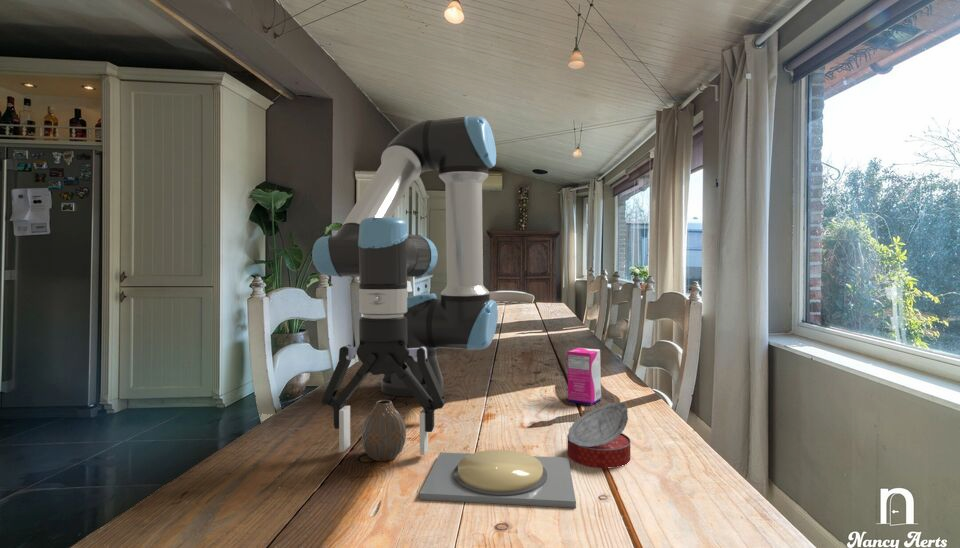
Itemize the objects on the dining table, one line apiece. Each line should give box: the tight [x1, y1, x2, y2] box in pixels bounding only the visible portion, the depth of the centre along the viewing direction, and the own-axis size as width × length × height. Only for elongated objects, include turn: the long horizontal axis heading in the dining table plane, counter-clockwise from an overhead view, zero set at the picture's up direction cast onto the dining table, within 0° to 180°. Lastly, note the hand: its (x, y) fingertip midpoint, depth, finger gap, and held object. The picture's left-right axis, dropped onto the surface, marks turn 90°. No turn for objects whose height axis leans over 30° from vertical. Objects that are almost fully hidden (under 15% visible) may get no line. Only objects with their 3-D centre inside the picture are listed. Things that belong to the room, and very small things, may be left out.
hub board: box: [419, 449, 577, 509], centre depth 69 cm, size 14×20×2 cm
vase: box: [361, 399, 407, 462], centre depth 78 cm, size 7×7×9 cm
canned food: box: [567, 401, 632, 469], centre depth 78 cm, size 11×10×10 cm
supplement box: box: [566, 347, 602, 406], centre depth 110 cm, size 6×6×12 cm
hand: (384, 450), depth 78 cm, fingers open, 12 cm apart
